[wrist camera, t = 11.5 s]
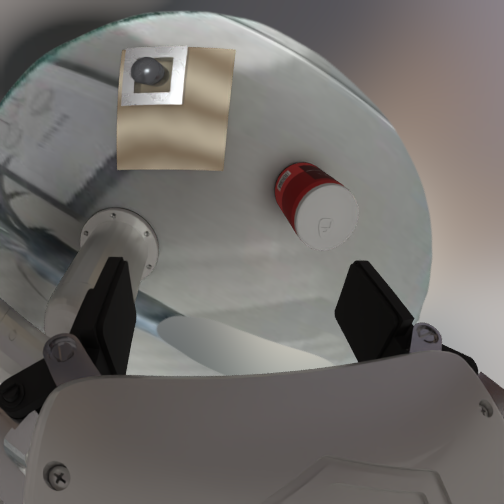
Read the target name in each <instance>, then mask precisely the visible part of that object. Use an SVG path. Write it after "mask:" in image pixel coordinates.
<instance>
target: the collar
mask: <svg viewBox="0 0 504 504" xmlns="http://www.w3.org/2000/svg"><path fill="white" fill-rule="evenodd" d="M189 52H190V51H189V48H188V46H153V47H137V48H126V53H125V61H124V71H123V83H122V98H121V106H131V105H158V104H184V100H185V89H186V78H187V69H188V60H189ZM142 57H152V58H154V59H155V60H156V61H173V68H172V77H171V88H170V92H160V93H140V90H141V83H137V82H136V81H134V80H133V78H132V77H131V67H132V65H133V64H134V62H135V61H136V60H138V59H140V58H142Z"/></svg>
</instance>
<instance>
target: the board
mask: <svg viewBox="0 0 504 504" xmlns="http://www.w3.org/2000/svg"><path fill="white" fill-rule="evenodd" d="M188 48H189V51H190V52H189V60H188V69H187V78H186V89H185V100H184V104H158V105H131V106H121V98H122V83H123V71H124V61H125V53H126V50H122V57H121V67H120V78H119V91H118V110H117V170H139V169H176V170H213V171H223V167H224V156H225V144H226V134H227V123H228V113H229V104H230V94H231V85H232V77H233V68H234V60H235V52H236V50H233V49H220V48H200V47H188ZM158 62H159V63H160V64H162V65H163V66H164V67H166V68H167V69H168V71H169V79H168V81H167V82H166V83H165V84H164V85H162V86H159V87H154V86H150V85H145V84H141V90H140V93H160V92H170V88H171V77H172V68H173V61H158Z"/></svg>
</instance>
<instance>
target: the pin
mask: <svg viewBox="0 0 504 504" xmlns="http://www.w3.org/2000/svg"><path fill="white" fill-rule="evenodd" d="M131 77H132V78H133V80H134V81H136V82H137V83H141V84H145V85H150V86H154V87H159V86H162V85H164V84H165V83H166V82H167V81H168V79H169V71H168V69H167V68H166V67H164V66H163V65H162V64H160V63H159V62H158V61H156V60H155V59H154V58H152V57H142V58H140V59H138V60H136V61H135V62H134V64H133V65H132V67H131Z"/></svg>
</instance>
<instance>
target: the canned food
mask: <svg viewBox="0 0 504 504" xmlns="http://www.w3.org/2000/svg"><path fill="white" fill-rule="evenodd" d="M275 197H276V201H277V203H278V205H279V207H280V208H281V210H282V211H283V213H284V215H285V216H286V218H287V219H288V221H289V223H290V224H291V226H292V228H293V229H294V231H295V232H296V234H297V235H298V237H299V238H300V240H301V241H302V242H303V243H304V244H305V245H306V246H308V247H310V248H312V249H315V250H321V251H323V250H330V249H333V248H335V247H338V246H339V245H341V244H342V243H344V242H345V241H346V240H347V239H348V238H349V237H350V235H351V234H352V233H353V231H354V229H355V227H356V225H357V222H358V216H359V208H358V203H357V201H356V199H355V197H354V196H353V194H352V193H351V192H350V191H349V190H348V189H347V188H346V187H344V186H343V185H342V184H341V183H339V182H338V181H336V180H335V179H334V178H332V177H331V176H329V175H328V174H326V173H325V172H324V171H322V170H321V169H319V168H318V167H316V166H314V165H312V164H309V163H297V164H293V165H291V166H289V167H287V168H286V169H285V170H284V171H283V172H282V173H281V174H280V176H279V177H278V180H277V182H276V187H275Z"/></svg>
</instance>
